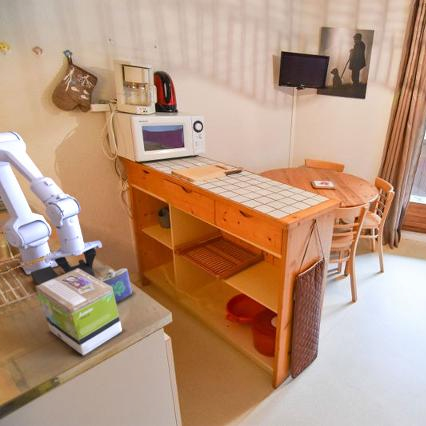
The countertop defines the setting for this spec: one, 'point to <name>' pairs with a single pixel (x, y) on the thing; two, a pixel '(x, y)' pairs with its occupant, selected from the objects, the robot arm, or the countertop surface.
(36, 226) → the robot arm
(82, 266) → the slot pad
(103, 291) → the tea box
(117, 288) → the flask
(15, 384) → the countertop surface
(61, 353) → the countertop surface
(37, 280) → the tongue pad
